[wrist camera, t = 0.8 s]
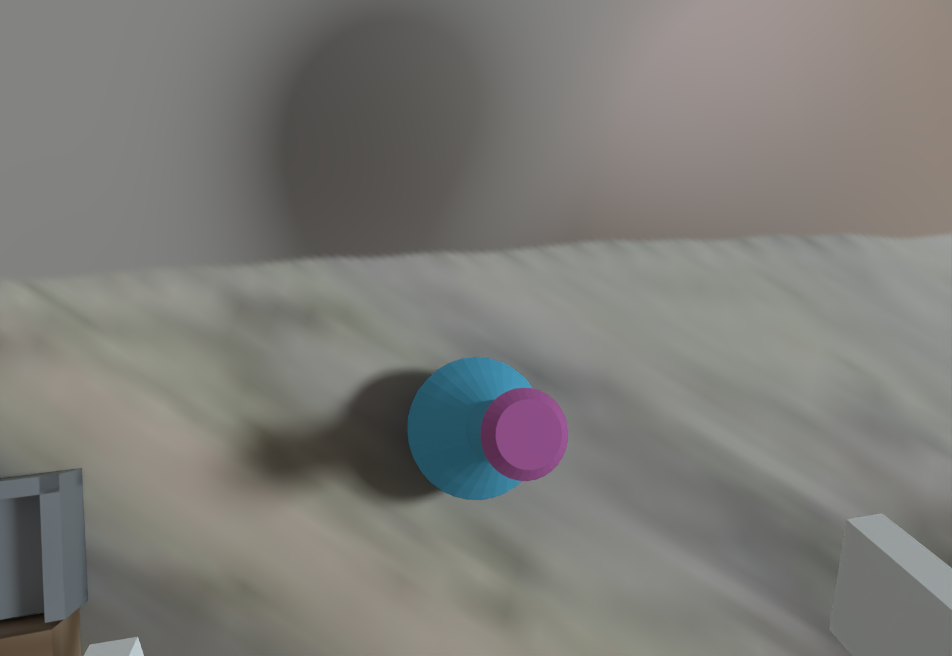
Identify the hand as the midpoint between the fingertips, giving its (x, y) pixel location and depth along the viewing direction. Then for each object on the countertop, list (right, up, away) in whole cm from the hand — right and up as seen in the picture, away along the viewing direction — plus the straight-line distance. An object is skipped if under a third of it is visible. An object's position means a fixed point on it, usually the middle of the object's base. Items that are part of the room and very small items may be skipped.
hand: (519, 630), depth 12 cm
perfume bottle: (-2, -1, +34) cm, 34 cm away
